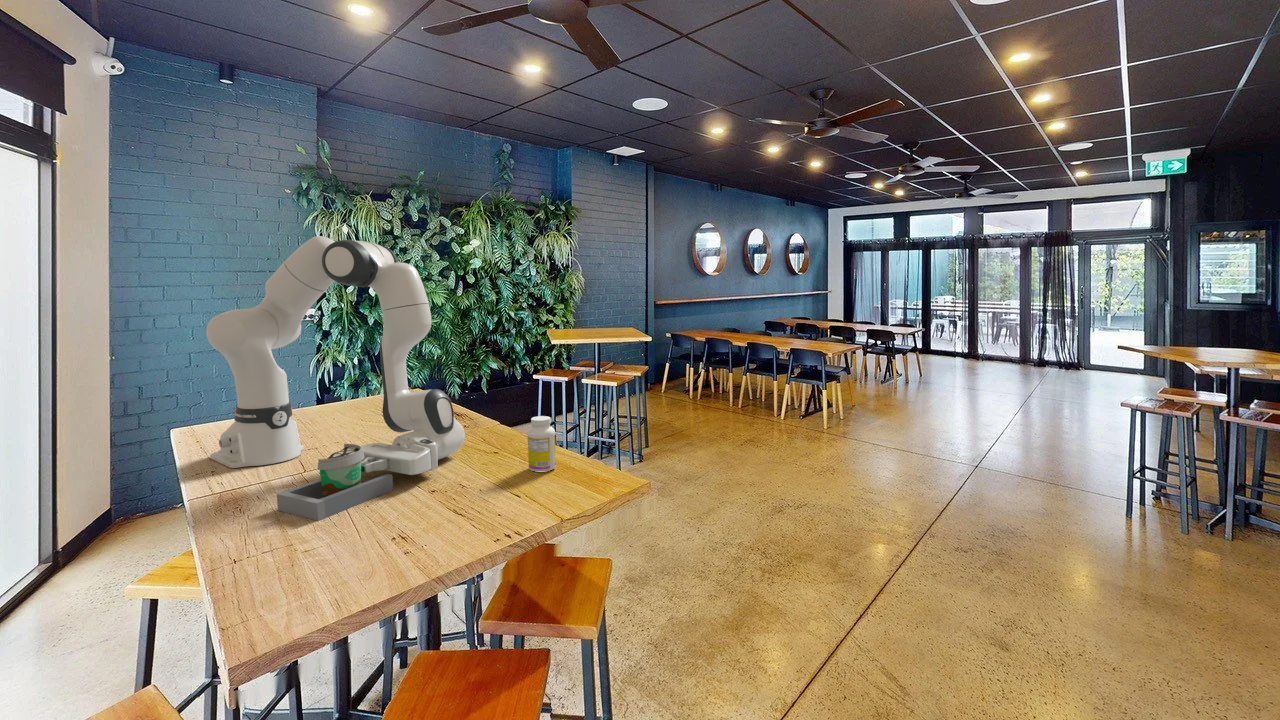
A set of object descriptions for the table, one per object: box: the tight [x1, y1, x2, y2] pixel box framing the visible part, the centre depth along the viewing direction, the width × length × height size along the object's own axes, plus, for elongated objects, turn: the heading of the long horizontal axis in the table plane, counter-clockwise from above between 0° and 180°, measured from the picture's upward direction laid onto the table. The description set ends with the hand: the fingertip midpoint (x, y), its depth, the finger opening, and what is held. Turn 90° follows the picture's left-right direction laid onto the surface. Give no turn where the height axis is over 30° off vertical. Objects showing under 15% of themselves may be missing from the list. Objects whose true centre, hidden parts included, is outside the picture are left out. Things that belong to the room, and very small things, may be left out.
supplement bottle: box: [527, 415, 557, 472], centre depth 140 cm, size 7×7×13 cm
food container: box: [317, 443, 364, 498], centre depth 123 cm, size 12×6×10 cm, turn 2°
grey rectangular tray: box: [276, 473, 394, 522], centre depth 121 cm, size 12×18×4 cm, turn 156°
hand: (361, 468), depth 126 cm, fingers closed
